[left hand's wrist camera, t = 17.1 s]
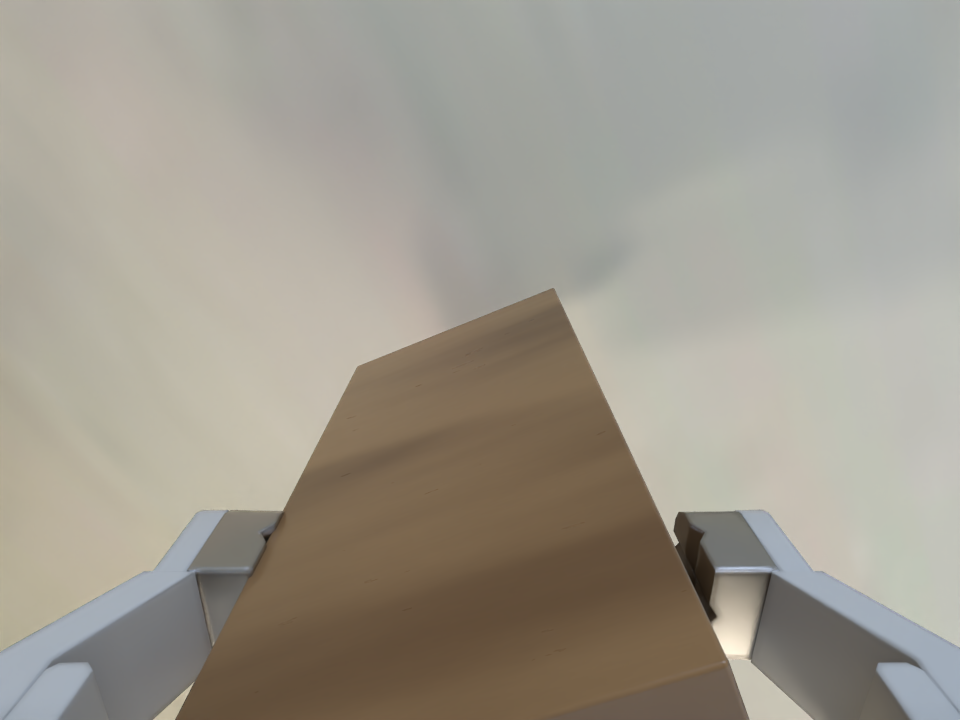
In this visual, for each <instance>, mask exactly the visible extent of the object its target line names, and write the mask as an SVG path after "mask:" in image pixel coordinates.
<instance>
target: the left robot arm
mask: <svg viewBox="0 0 960 720" xmlns="http://www.w3.org/2000/svg"><path fill="white" fill-rule="evenodd" d="M284 513H285V511H247V510H230V511H228V510H202V511H200V512H198V513H196V514H195V515H194V517H193V518H192V519H191V521H190V522H189V523H188V525H187V526H186V527H185V529H184V530H183V531H182V533H181V534H180V535H179V537H178V538H177V539H176V541H175V542H174V543H173V545H172V546H171V547H170V549H169V550H168V551H167V553H166V554H165V556H164V557H163V558H162V560H161V561H160V562H159V564H158V565H157V566H156V568H155V569H154V570H153V571H144V572H142V573H140V574H138V575H137V576H135V577H133V578H131V579H129V580H128V581H126V582H124V583H122V584H120V585H119V586H117V587H115V588H113V589H112V590H110V591H108V592H106V593H104V594H103V595H101V596H99V597H97V598H95V599H94V600H92V601H90V602H88V603H87V604H85V605H83V606H81V607H79V608H78V609H76V610H74V611H72V612H70V613H69V614H67V615H65V616H63V617H62V618H60V619H58V620H56V621H54V622H53V623H51V624H49V625H47V626H45V627H44V628H42V629H40V630H38V631H37V632H35V633H33V634H31V635H29V636H28V637H26V638H24V639H22V640H20V641H19V642H17V643H15V644H13V645H12V646H10V647H8V648H6V649H4V650H3V651H1V652H0V720H153V719H154V718H155V717H156V716H157V715H158V714H159V713H161V712H162V711H163V710H164V709H165V708H166V707H167V706H168V705H169V704H170V703H171V702H172V701H174V700H175V699H176V698H177V697H178V696H179V695H180V694H181V693H182V692H183V691H184V690H186V689H187V688H188V687H189V686H190V685H191V684H192V683H193V682H194V681H195V680H196V678H197V677H198V675H199V673H200V671H201V669H202V667H203V665H204V663H205V661H206V659H207V657H208V655H209V653H210V651H211V649H212V648H213V646H214V644H215V642H216V640H217V638H218V636H219V634H220V632H221V630H222V628H223V626H224V624H225V622H226V620H227V618H228V617H229V615H230V613H231V611H232V609H233V607H234V605H235V603H236V601H237V599H238V597H239V595H240V593H241V591H242V589H243V587H244V586H245V584H246V582H247V580H248V578H250V577H252V575H253V573H254V571H255V569H256V567H257V565H258V564H259V562H260V560H261V558H262V556H263V554H264V552H265V550H266V548H267V546H266V543H267V541H268V539H269V537H270V535H271V534H272V533H273V532H274V531H275V530H276V529H277V527H278V525H279V523H280V521H281V519H282V517H283V515H284ZM674 533H675V535H676V537H677V539H678V541H679V543H678V544H677V545H676V546H675V548H676V550H677V552H678V554H679V556H680V559H681V561H682V563H683V565H684V567H685V569H686V571H687V573H688V576H689V578H690V580H691V582H692V584H693V586H694V588H695V591H696V593H697V595H698V597H699V599H700V601H701V603H702V606H703V608H704V610H705V612H706V614H707V616H708V618H709V620H710V623H711V625H712V627H713V629H714V631H715V633H716V635H717V638H718V640H719V642H720V644H721V646H722V648H723V650H724V653H725V655H726V657H727V659H743V660H751V663H752V664H754V665H755V666H756V667H757V668H758V669H759V670H760V671H761V672H762V673H763V674H764V675H766V676H767V677H768V678H769V679H770V680H771V681H772V682H773V683H774V684H775V685H776V686H778V687H779V688H780V689H781V690H782V691H783V692H784V693H785V694H786V695H787V696H789V697H790V698H791V699H792V700H793V701H794V702H795V703H796V704H797V705H798V706H799V707H801V708H802V709H803V710H804V711H805V712H806V713H807V714H808V715H809V716H810V717H811V718H813V719H814V720H960V648H959V647H957V646H956V645H954V644H952V643H950V642H948V641H947V640H945V639H943V638H941V637H939V636H938V635H936V634H934V633H932V632H930V631H929V630H927V629H925V628H923V627H921V626H920V625H918V624H916V623H914V622H912V621H911V620H909V619H907V618H905V617H903V616H902V615H900V614H898V613H896V612H894V611H893V610H891V609H889V608H887V607H885V606H884V605H882V604H880V603H878V602H877V601H875V600H873V599H871V598H869V597H868V596H866V595H864V594H862V593H860V592H859V591H857V590H855V589H853V588H851V587H850V586H848V585H846V584H844V583H842V582H841V581H839V580H837V579H835V578H833V577H832V576H830V575H828V574H826V573H824V572H823V571H813V570H812V569H811V567H810V566H809V565H808V563H807V562H806V561H805V559H804V558H803V557H802V556H801V554H800V553H799V552H798V550H797V549H796V548H795V546H794V545H793V544H792V543H791V541H790V540H789V539H788V537H787V536H786V535H785V533H784V532H783V531H782V529H781V528H780V527H779V526H778V524H777V523H776V522H775V520H774V519H773V518H772V516H771V515H770V514H769V513H768V512H766V511H764V510H737V511H727V512H678V515H677V517H676V519H675V525H674Z"/></svg>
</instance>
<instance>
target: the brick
mask: <svg viewBox="0 0 960 720" xmlns="http://www.w3.org/2000/svg"><path fill="white" fill-rule="evenodd" d="M283 511H285V513H284V515H283V517H282V519H281V521H280V523H279V525H278V527H277V529H276V530H275V531H274V532H273V533H272V534H271V535H270V537H269V539H268V541H267V543H266V546H267V548H266V550H265V552H264V554H263V556H262V558H261V560H260V562H259V564H258V565H257V567H256V569H255V571H254V573H253V575H252V577H250V578H248V580H247V582H246V584H245V586H244V587H243V589H242V591H241V593H240V595H239V597H238V599H237V601H236V603H235V605H234V607H233V609H232V611H231V613H230V615H229V617H228V618H227V620H226V622H225V624H224V626H223V628H222V630H221V632H220V634H219V636H218V638H217V640H216V642H215V644H214V646H213V648H212V649H211V651H210V653H209V655H208V657H207V659H206V661H205V663H204V665H203V667H202V669H201V671H200V673H199V675H198V677H197V678H196V680H195V682H194V684H193V686H192V688H191V690H190V692H189V694H188V696H187V698H186V700H185V702H184V704H183V706H182V708H181V709H180V711H179V713H178V715H177V717H176V719H175V720H749V717H748V714H747V712H746V709H745V706H744V703H743V700H742V697H741V695H740V692H739V689H738V686H737V683H736V681H735V678H734V675H733V672H732V669H731V666H730V664H729V661H728V659H727V657H726V655H725V653H724V650H723V648H722V646H721V644H720V642H719V640H718V638H717V635H716V633H715V631H714V629H713V627H712V625H711V623H710V620H709V618H708V616H707V614H706V612H705V610H704V608H703V606H702V603H701V601H700V599H699V597H698V595H697V593H696V591H695V588H694V586H693V584H692V582H691V580H690V578H689V576H688V573H687V571H686V569H685V567H684V565H683V563H682V561H681V559H680V556H679V554H678V552H677V550H676V548H675V546H674V544H673V541H672V539H671V537H670V535H669V533H668V531H667V529H666V526H665V524H664V522H663V520H662V518H661V516H660V514H659V511H658V509H657V507H656V505H655V503H654V501H653V499H652V497H651V494H650V492H649V490H648V488H647V486H646V484H645V482H644V479H643V477H642V475H641V473H640V471H639V469H638V467H637V464H636V462H635V460H634V458H633V456H632V454H631V452H630V450H629V447H628V445H627V443H626V441H625V439H624V437H623V435H622V432H621V430H620V428H619V426H618V424H617V422H616V420H615V417H614V415H613V413H612V411H611V409H610V407H609V405H608V403H607V400H606V398H605V396H604V394H603V392H602V390H601V388H600V385H599V383H598V381H597V379H596V377H595V375H594V373H593V370H592V368H591V366H590V364H589V362H588V360H587V358H586V356H585V353H584V351H583V349H582V347H581V345H580V343H579V341H578V338H577V336H576V334H575V332H574V330H573V328H572V326H571V323H570V321H569V319H568V317H567V315H566V313H565V311H564V309H563V306H562V304H561V302H560V300H559V298H558V296H557V294H556V291H555V289H554V288H552V289H549V290H547V291H544V292H542V293H539V294H537V295H534V296H532V297H530V298H527V299H525V300H522V301H520V302H517V303H515V304H512V305H510V306H507V307H505V308H502V309H500V310H497V311H495V312H492V313H490V314H487V315H485V316H482V317H480V318H477V319H475V320H472V321H470V322H467V323H465V324H462V325H460V326H457V327H455V328H452V329H450V330H447V331H445V332H442V333H440V334H437V335H435V336H432V337H430V338H427V339H425V340H422V341H420V342H417V343H415V344H412V345H410V346H407V347H405V348H402V349H400V350H397V351H395V352H392V353H390V354H387V355H385V356H382V357H380V358H378V359H375V360H373V361H370V362H368V363H365V364H363V365H360V366H358V367H357V369H356V370H355V372H354V374H353V376H352V378H351V380H350V382H349V384H348V386H347V388H346V390H345V392H344V394H343V396H342V398H341V400H340V401H339V403H338V405H337V407H336V409H335V411H334V413H333V415H332V417H331V419H330V421H329V423H328V425H327V427H326V429H325V431H324V432H323V434H322V436H321V438H320V440H319V442H318V444H317V446H316V448H315V450H314V452H313V454H312V456H311V458H310V460H309V462H308V463H307V465H306V467H305V469H304V471H303V473H302V475H301V477H300V479H299V481H298V483H297V485H296V487H295V489H294V491H293V493H292V494H291V496H290V498H289V500H288V502H287V504H286V506H285V508H284V510H283Z"/></svg>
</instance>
